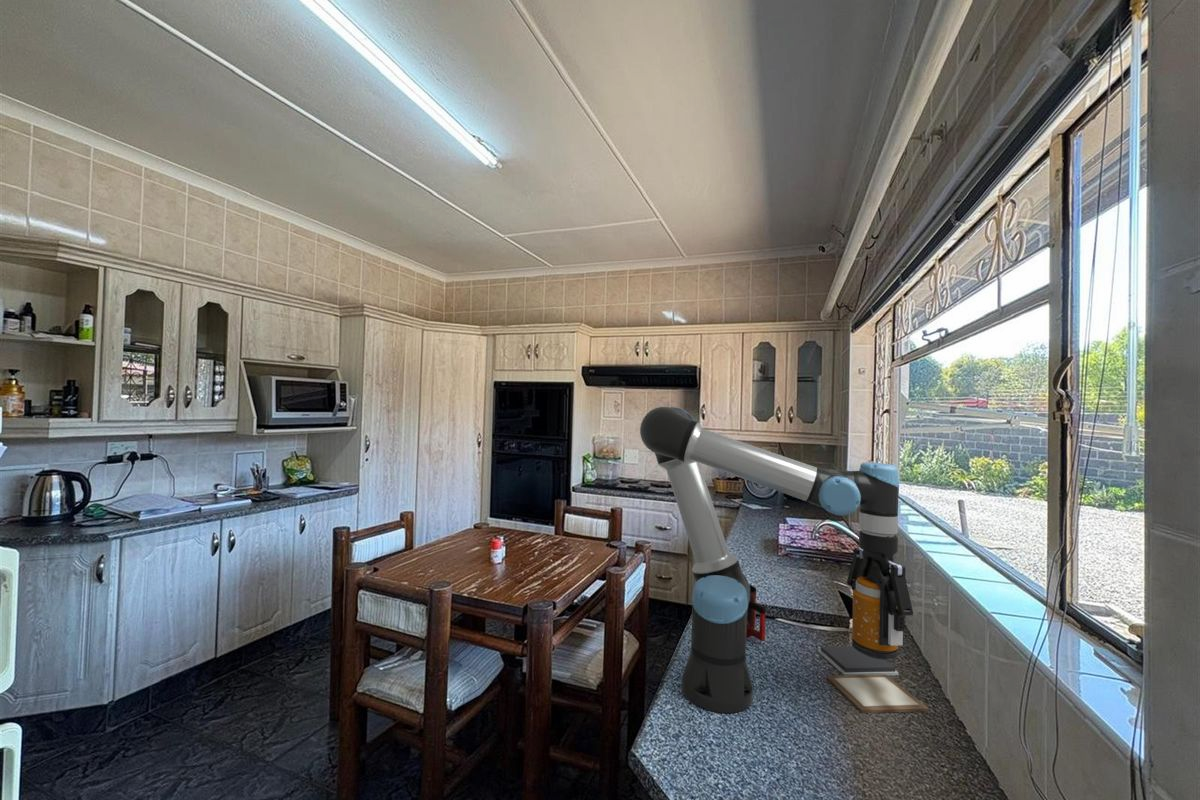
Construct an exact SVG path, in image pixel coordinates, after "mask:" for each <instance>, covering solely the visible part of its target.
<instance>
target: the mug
mask: <svg viewBox="0 0 1200 800" xmlns="http://www.w3.org/2000/svg"><path fill="white" fill-rule="evenodd" d="M749 586H750V601H749V604H748V613H747V626H746V639H747V638H752V637H754V638H756V639H757V640H759V641H761V642H765V641H766V606H763V605H761V604H760V603H757V587H755V586H754V585H752V584H750V583H749ZM757 612H758V613H759V629H758V630H759V631H758V630H757V629H756V619H757V618H756V616H757V615H756V613H757Z"/></svg>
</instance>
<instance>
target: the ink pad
mask: <svg viewBox="0 0 1200 800" xmlns="http://www.w3.org/2000/svg"><path fill="white" fill-rule="evenodd" d="M817 653H819V655H820V656H822V657H823V658H824V659H825V660H827V662H829V663H830V664H831V665H832V666H833V667H834V668H835V669H836V670H837V671H839V672H840V673H841V674H842V675H887V676H899V675H900V674H899V672H898V670H897V669H896V666H894V665H892V664H891V663H890V662H889V661H887V659H886V660H881V659H875V658H871V657H869V656H866V655H864V654H863V653H861V652H859V651H857V650H856V649H855V648H854V647H853V646H852V645H844V646H843V645H833V646H831V645H830V646H828V645H827V646H823V645H822V646H820V649H817Z"/></svg>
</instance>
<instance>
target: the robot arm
mask: <svg viewBox="0 0 1200 800" xmlns="http://www.w3.org/2000/svg"><path fill="white" fill-rule="evenodd" d="M639 433H640V438H641V441H642V443H643V445H644V446H645V447H646V448H647V449H648V450H649V451H651V452H652V453H654V455H655V458H656V461H657V464H658V466H659V467H661V468H663V469H664V470H666V474H667V477H668V480H669V482H670V485H671V489H672V492H673V494H674V495H673V496H674V498H675V501H676V504H677V508H678V512H679V514H680V517H681V520H682V523H683V526H684V530H685V532H686V535H687V538H688V541H689V545H690V548H691V552H692V554H693V558H694V560H695V563H694V565H693V566H692V569H691V571H692V575H693V578H694V581H695V583H694V585H693V590H692V593H691V604H692V608H691V637H690V638H691V640H690V642H691V643H690V654H689V656H688V658H687V661H686V664H685V667H684V669H683V672H682V675H681V689H682V690H681V691H682V693H683V694H684V696H685V697H686V698H687V699H688V700H689V701H690V702H691V703H692V704H694V705H696V706H699V707H700V708H702V709H705V710H708V711H711V712H715V713H721V714H722V713H723V714H731V713H733V714H734V713H739V712H743V711H746V710H747V709H749V707H751V706H752V704H753V701H754V685H753V682H752V678H751V675H750V672H749V668H748V665H747V662H746V653H747V638H746V626H747V613H748V604H749V601H750V586H749V584H750V582H749V581H748V579H747V577H746V574H745V573H744V572H743V570H742V567H741V564H740V562H739V559H738V557H737V556H736V555H734V554H732V553H731V552H730V551H729V549H728V545H727V543H726V538H725V536H724V533H723V530H722V527H721V524H720V521H719V518H718V515H717V512H716V508H715V506H714V502H713V500H712V496H711V494H710V490H709V488H708V485H707V482H706V480H705V475H704V473H703V470H702V467H701V464H702V465H705V466H708V467H711V468H713V469H715V470H719V471H722V472H724V473H727V474H730V475H733V476H735V477H739V478H741V479H744V480H746V481H749V482H752V483H755V484H757V485H760V486H763V487H766V488H768V489H772V490H774V491H777V492H780V493H783V494H786V495H787V496H791V497H794V498H796V499H799V500H802V501H803V502H804V501H805V502H807V503H809V504H812V505H815V506H817V507H819V508H822V509H823V510H825V511H827V512H828V513H830V514H833V515H835V516H842V517H843V516H848V515H850V514H853V513H854V512H856V510H857V509H858V508H859V514H858V515H859V517H858V519H859V520H858V527H859V529H860V530H861V531H859V534H858V546H859V547H854V548H853V556H852V560H851V564H850V569H849V571H848V576H847V579H846V584H847V586H849V587H851V590H852V591H853V590H854V589H856V580H857V578H858V577H860V576H862V577H867V575H868V574H869V573H868V570H869V572H870V573H873V568H874V569H875V571H876V574H877V577H878V580H879V581H880V574H881V576H882V578H883V580H884V582H885V587H884V591H885V594H886V597H887V600H888V602H889V605H890V608H891V611H892V612H889V622H888V644H889V645H891V646H892V645H898V646H903V644H904V642H903V641H904V639H903V637H904V631H905V617H906V616H914V611H913V610H914V609H913V607H912V606H913V605H912V601H911V597H910V593H909V587H908V584H907V578H906V566H905V564H897V563H895V561H894V555H895V554H897V553H898V550H899V538H898V536H897V535H898V533H899V532H898V531H899V528H898V525H899V495H900V494H899V490H900V489H899V488H900V484H899V482H900V481H899V470H898V468H897V466H895V465H893V464H890V463H882V462H862V463H861V464H860V466H859V469H858V470H843V469H842V470H841V469H831V468H830V469H829V468H821V467H816V466H813V465H811V464H808V463H804V462H802V461H799V460H795V459H792V458H789V457H786V456H784V455H781V454H778V453H775V452H772V451H770V450H766V449H763V448H761V447H757V446H755V445H751V444H749V443H747V442H743V441H741V440H737V439H734V438H731V437H728V436H726V435H722V434H720V433H716V432H714V431H711V430H709V429H706V428H705V429H704V428H703V427H702V425H701V423H700V422H699V421H695V420H694V418H693V417H692V416H691V414H690V413H689V412H688V411H686V410H684V409H683V408H680V407H676V406H670V407H669V406H659V407H655V408H653V409H651V410H650V411H648V412H647V413H646V414H645V416H644V417H643V419H642V420H641V423H640V427H639ZM889 572H890V573H891V577H889V576H888V574H889ZM886 576H888V577H886ZM891 580H892V581H891ZM880 582H881V581H880ZM896 607H897V608H896Z"/></svg>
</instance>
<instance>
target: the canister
mask: <svg viewBox="0 0 1200 800" xmlns="http://www.w3.org/2000/svg"><path fill="white" fill-rule="evenodd" d="M868 573H869V574H868V575H867V577H862V576H860V577H858V578H857V580H856V589H854V590H852V618H851V619H852V620H851V621H852V624H851V625H852V628H851V631H852V632H851V634H852V635H851V637H852V638H851V646H853V647H854V648H855V649H856V650H857V651H859V652H861V653H863V654H864V655H866V656H869V657H871V658H875V659H881V660H886V661H887V660H894V659H897V658H898V657H899V645H892V646H891V645H889V644H888V622H889V612H892V611H891V608H890V605H889V602H888V600H887V597H886V594H885V591H884V587H885V582H884V580H883V578H882V576H881V574H880V581H881V582H880V581H879V580H878V577H877V574H876V571H875V569H874V568H873V573H870V572H869V570H868ZM886 577H891V573H890V572H889V574H888V576H886ZM891 581H892V580H891ZM896 608H897V607H896Z"/></svg>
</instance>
